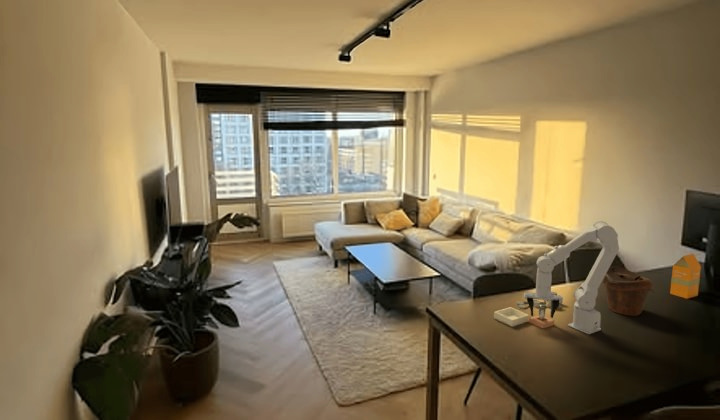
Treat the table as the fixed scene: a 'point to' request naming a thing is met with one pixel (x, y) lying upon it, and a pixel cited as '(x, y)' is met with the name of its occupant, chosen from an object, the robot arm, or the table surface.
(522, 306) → the pulley system
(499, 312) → the tray
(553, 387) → the table surface
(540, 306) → the pin
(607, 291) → the terracotta flower pot
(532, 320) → the block
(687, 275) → the orange juice
